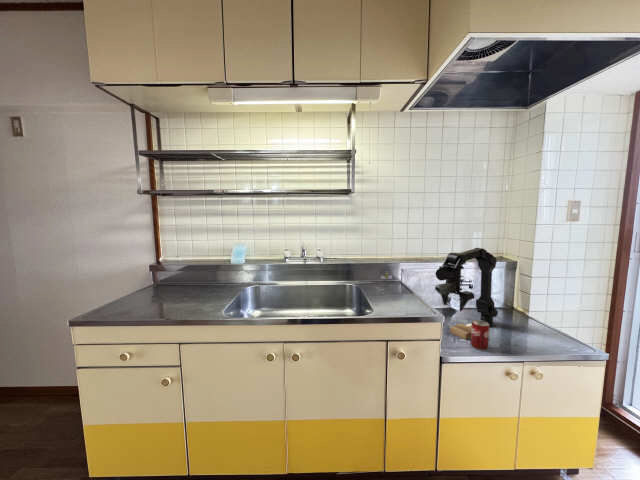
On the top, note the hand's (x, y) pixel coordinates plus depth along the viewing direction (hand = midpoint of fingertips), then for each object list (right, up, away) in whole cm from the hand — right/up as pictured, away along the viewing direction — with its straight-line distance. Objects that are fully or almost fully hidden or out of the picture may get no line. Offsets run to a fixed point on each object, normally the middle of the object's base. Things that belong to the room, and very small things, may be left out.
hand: (452, 307), depth 139 cm
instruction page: (+14, -14, +10) cm, 22 cm away
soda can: (+7, -16, -10) cm, 20 cm away
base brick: (+7, -14, +3) cm, 16 cm away
